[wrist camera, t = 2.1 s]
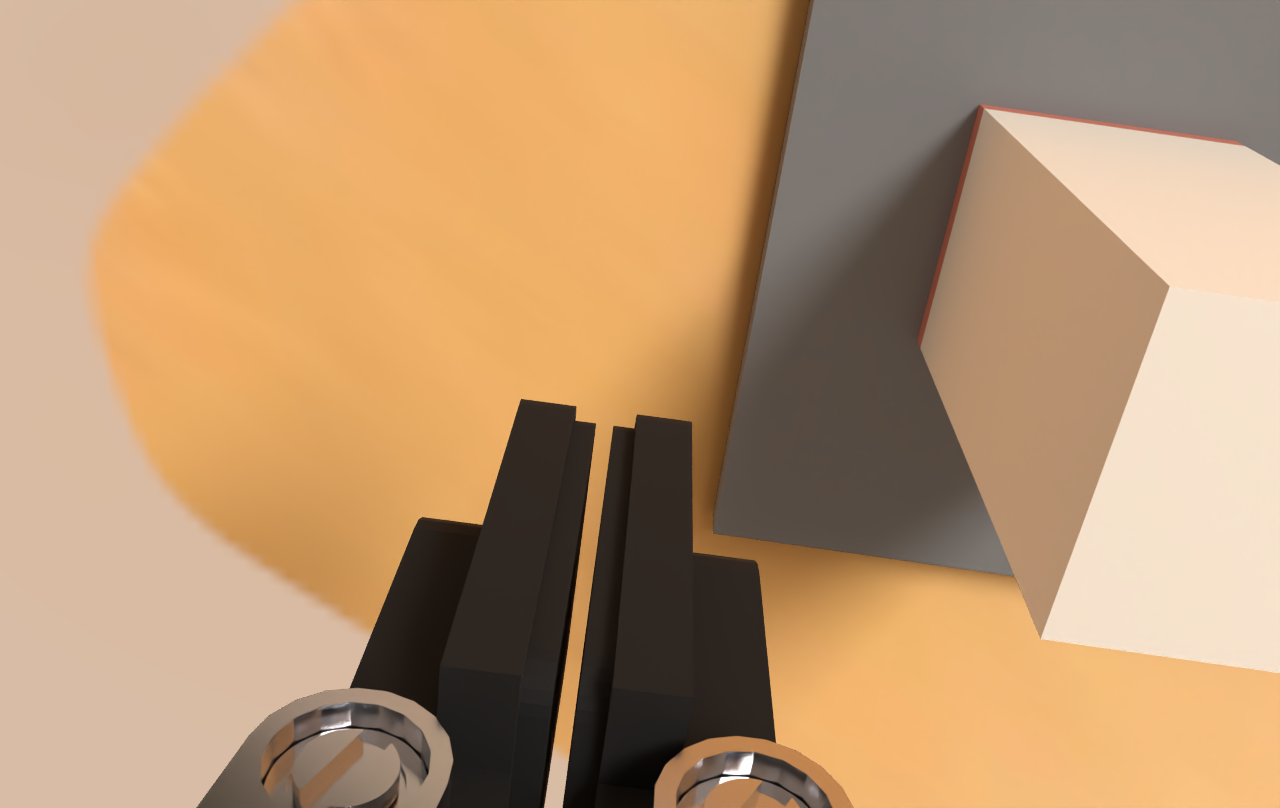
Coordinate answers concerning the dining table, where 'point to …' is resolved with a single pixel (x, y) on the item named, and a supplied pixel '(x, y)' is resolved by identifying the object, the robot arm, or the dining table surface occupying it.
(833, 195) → the charcoal mat
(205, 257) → the dining table surface
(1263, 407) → the cream block
